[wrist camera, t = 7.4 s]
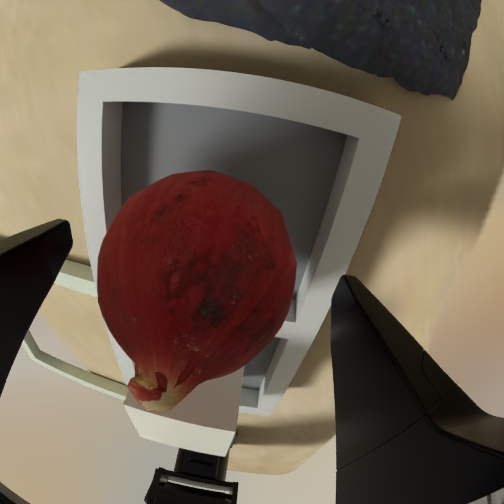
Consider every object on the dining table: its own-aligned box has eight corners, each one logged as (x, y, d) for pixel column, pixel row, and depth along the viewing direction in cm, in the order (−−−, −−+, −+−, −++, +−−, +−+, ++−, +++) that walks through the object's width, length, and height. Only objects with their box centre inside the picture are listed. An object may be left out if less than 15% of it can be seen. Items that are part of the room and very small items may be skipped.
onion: (209, 107, 9) (64, 248, 2) (319, 212, 11) (359, 415, 5) (125, 210, 12) (26, 368, 5) (223, 283, 14) (194, 449, 7)
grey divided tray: (272, 388, 20) (270, 416, 18) (136, 359, 20) (125, 384, 18) (377, 108, 9) (401, 115, 7) (114, 70, 9) (79, 71, 7)
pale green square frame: (160, 400, 24) (157, 410, 23) (36, 352, 24) (32, 360, 23) (141, 279, 15) (133, 292, 14) (-17, 233, 15) (-26, 241, 14)
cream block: (237, 375, 18) (225, 456, 13) (165, 360, 18) (140, 436, 13) (249, 330, 15) (235, 432, 10) (161, 312, 15) (123, 404, 10)
